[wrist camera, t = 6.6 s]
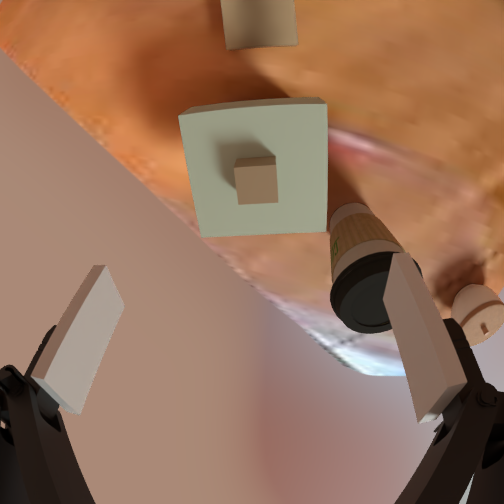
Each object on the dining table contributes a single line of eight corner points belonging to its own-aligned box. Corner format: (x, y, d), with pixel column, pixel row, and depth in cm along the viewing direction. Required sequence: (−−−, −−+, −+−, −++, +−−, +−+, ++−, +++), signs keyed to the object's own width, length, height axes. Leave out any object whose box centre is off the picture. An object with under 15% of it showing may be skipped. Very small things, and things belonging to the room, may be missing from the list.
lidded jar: (433, 314, 49) (449, 354, 41) (462, 270, 43) (485, 309, 35) (470, 317, 49) (487, 353, 42) (498, 277, 43) (520, 312, 36)
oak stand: (290, -11, 23) (291, -18, 20) (295, 46, 27) (298, 44, 24) (223, -6, 24) (219, -12, 21) (230, 50, 28) (226, 49, 25)
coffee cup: (303, 240, 41) (314, 326, 29) (336, 177, 36) (368, 249, 24) (363, 262, 43) (390, 344, 31) (399, 206, 37) (446, 281, 25)
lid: (319, 97, 23) (331, 108, 18) (320, 210, 30) (329, 244, 25) (190, 107, 24) (170, 121, 19) (209, 215, 31) (196, 250, 26)
